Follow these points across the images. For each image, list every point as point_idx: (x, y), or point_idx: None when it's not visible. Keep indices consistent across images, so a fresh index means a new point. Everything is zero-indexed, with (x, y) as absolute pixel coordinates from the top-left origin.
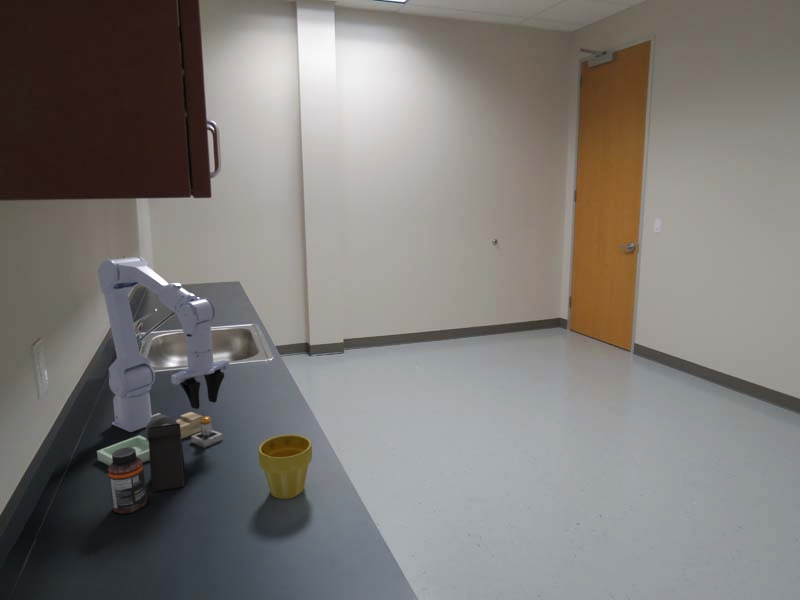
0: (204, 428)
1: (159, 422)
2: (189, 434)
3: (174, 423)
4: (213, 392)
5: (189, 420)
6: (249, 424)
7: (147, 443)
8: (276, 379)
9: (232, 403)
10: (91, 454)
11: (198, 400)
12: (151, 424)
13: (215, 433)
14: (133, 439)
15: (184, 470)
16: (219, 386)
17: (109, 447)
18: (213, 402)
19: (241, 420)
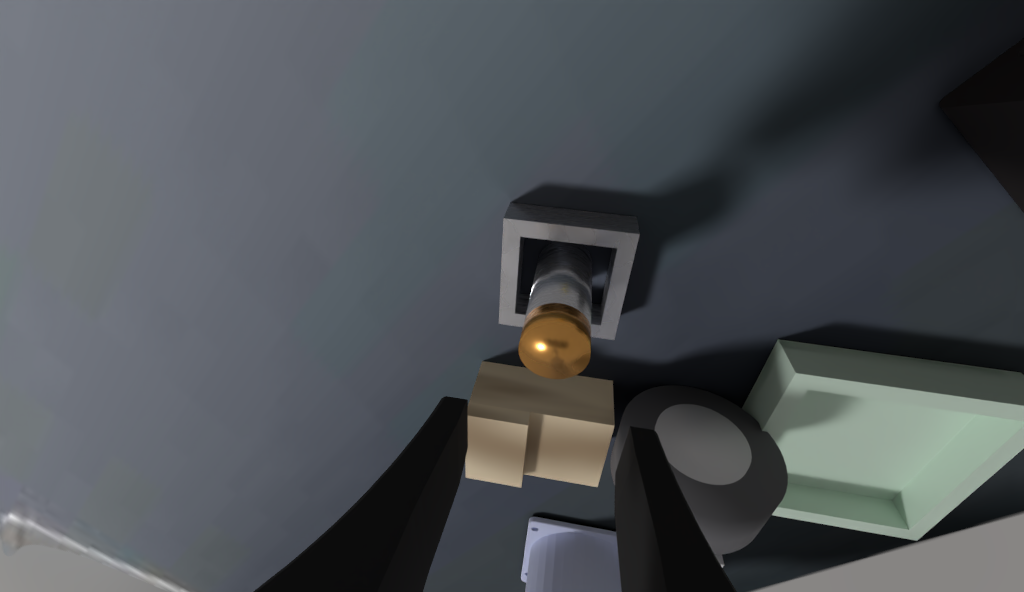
0: (586, 302)
1: (744, 507)
2: None
3: None
4: (432, 491)
5: (527, 434)
6: (301, 220)
7: None
8: (28, 424)
9: (256, 423)
10: (845, 536)
11: (656, 495)
12: (765, 522)
13: (519, 258)
14: None
15: (1019, 51)
16: (344, 520)
17: (871, 525)
18: (467, 406)
19: (307, 288)
